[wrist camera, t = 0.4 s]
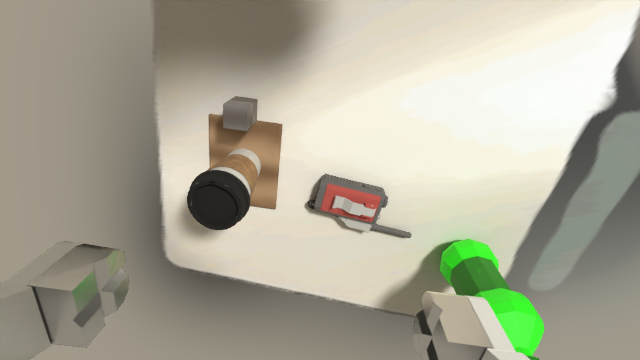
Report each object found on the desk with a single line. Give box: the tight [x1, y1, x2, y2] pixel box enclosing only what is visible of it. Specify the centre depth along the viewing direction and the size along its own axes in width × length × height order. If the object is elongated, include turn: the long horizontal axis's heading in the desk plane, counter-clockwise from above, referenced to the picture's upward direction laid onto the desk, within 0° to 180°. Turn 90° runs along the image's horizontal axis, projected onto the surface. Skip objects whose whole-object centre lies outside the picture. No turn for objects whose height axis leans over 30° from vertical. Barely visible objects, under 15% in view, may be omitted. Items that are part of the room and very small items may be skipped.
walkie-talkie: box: [308, 174, 411, 238], centre depth 57 cm, size 9×4×20 cm
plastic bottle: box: [440, 239, 544, 360], centre depth 50 cm, size 10×10×25 cm
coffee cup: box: [187, 148, 261, 230], centre depth 49 cm, size 8×8×15 cm
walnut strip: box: [209, 96, 282, 209], centre depth 52 cm, size 20×12×6 cm, turn 173°
